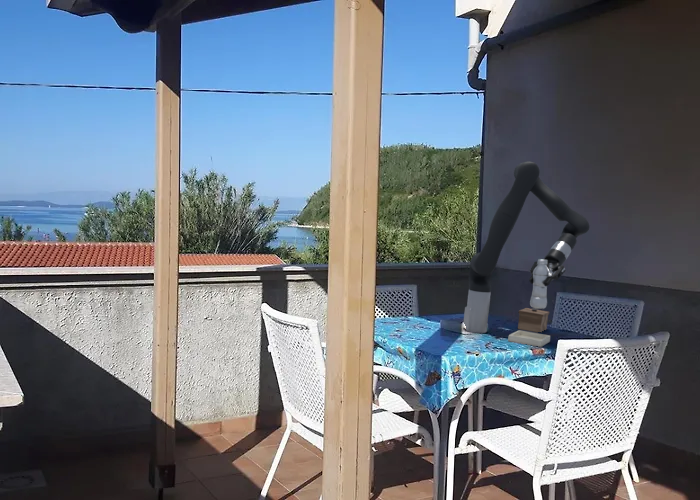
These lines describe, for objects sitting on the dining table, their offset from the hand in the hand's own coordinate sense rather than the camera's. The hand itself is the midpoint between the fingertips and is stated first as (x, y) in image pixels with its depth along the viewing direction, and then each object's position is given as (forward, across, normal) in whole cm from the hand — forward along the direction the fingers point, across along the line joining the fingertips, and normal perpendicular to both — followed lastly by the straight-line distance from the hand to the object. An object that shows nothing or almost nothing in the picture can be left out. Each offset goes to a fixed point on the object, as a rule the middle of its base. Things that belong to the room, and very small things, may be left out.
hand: (537, 283), depth 270 cm
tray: (+16, -2, +18) cm, 24 cm away
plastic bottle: (+6, 0, +9) cm, 11 cm away
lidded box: (-2, -19, +37) cm, 42 cm away
